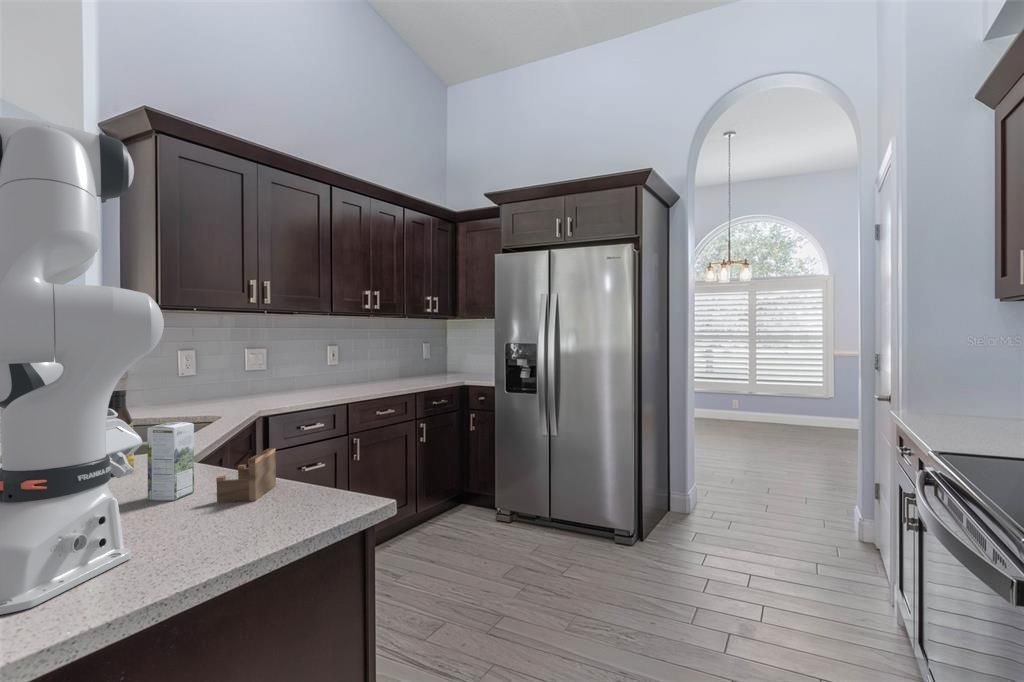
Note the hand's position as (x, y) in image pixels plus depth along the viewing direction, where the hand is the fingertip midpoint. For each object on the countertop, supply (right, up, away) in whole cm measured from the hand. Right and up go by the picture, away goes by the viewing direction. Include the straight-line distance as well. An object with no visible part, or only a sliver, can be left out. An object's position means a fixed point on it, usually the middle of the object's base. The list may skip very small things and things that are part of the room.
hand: (126, 474), depth 105 cm
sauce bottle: (-17, -5, +21) cm, 27 cm away
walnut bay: (+22, -4, +2) cm, 23 cm away
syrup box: (+9, -5, +1) cm, 10 cm away
